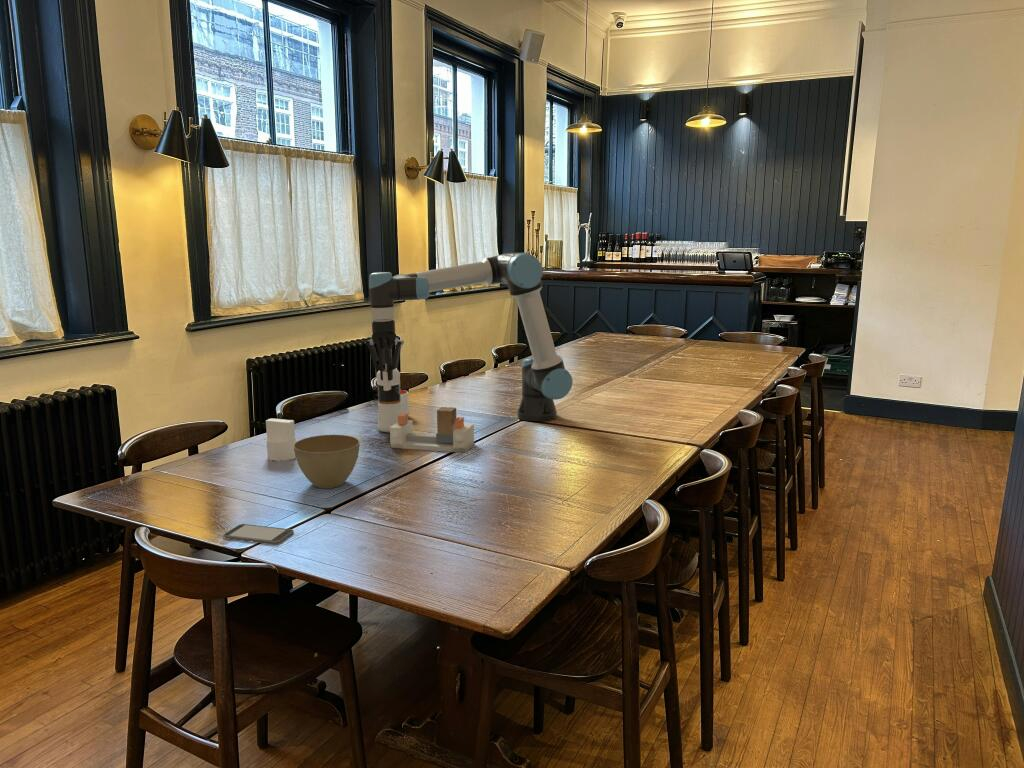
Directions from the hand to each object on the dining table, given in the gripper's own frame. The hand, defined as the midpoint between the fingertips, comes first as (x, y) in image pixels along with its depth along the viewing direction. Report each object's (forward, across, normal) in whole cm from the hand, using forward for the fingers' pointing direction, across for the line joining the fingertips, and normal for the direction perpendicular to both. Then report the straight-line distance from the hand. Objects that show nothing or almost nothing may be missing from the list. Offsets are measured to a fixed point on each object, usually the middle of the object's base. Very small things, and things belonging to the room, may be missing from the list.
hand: (387, 389), depth 246 cm
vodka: (+19, +7, -16) cm, 25 cm away
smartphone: (+18, 0, +80) cm, 82 cm away
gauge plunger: (+11, -5, 0) cm, 12 cm away
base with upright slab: (+18, +28, +22) cm, 40 cm away
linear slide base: (+19, -15, 0) cm, 24 cm away
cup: (+19, +12, -32) cm, 39 cm away
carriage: (+17, -21, 0) cm, 26 cm away
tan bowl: (+18, +1, +42) cm, 46 cm away
